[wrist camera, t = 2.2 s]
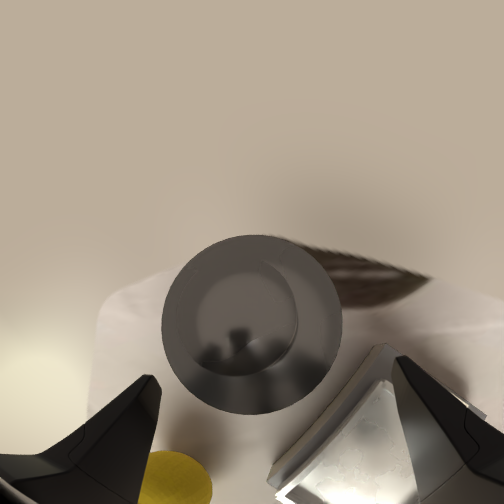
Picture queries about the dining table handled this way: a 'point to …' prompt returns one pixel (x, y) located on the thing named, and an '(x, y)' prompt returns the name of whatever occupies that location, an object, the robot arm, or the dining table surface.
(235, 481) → the dining table surface
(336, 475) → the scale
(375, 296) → the dining table surface
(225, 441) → the dining table surface
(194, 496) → the lemon
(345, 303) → the dining table surface
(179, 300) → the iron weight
